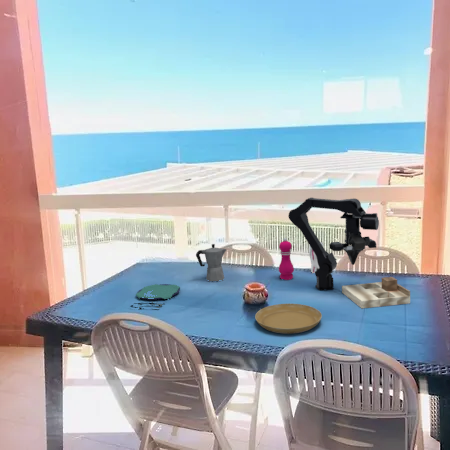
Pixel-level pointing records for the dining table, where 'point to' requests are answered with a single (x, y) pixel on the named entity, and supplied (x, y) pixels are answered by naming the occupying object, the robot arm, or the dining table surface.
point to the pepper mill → (285, 260)
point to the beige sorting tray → (375, 295)
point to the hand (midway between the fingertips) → (352, 264)
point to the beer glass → (313, 260)
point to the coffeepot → (213, 262)
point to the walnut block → (389, 284)
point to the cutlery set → (159, 291)
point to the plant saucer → (288, 318)
